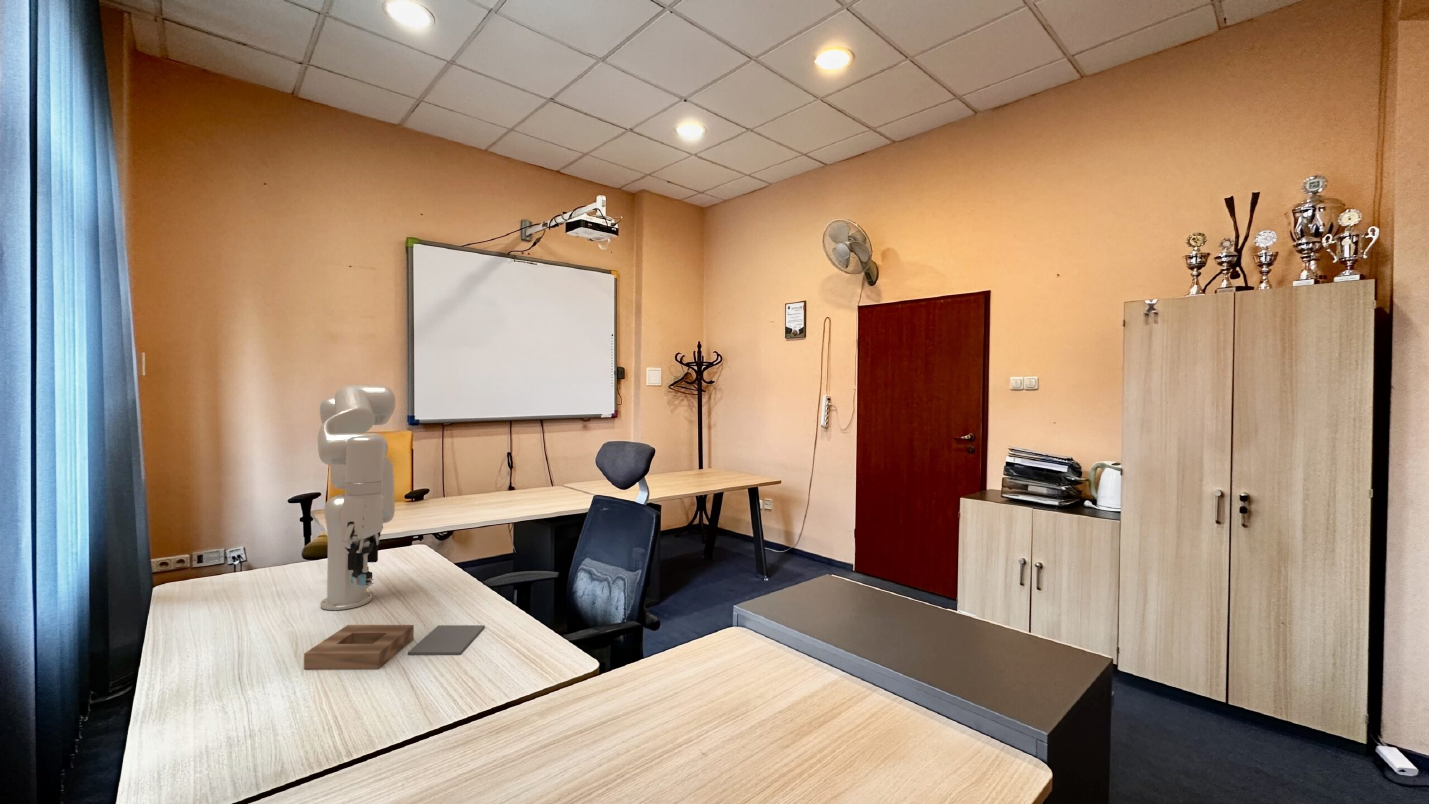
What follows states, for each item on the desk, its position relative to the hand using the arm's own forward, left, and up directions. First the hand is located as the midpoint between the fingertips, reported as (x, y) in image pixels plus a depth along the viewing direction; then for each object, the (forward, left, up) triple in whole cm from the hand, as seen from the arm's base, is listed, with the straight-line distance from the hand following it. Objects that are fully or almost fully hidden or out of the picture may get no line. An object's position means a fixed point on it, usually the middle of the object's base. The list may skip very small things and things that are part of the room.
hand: (363, 565), depth 134 cm
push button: (0, 0, -5) cm, 5 cm away
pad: (-7, +17, -21) cm, 28 cm away
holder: (0, 0, -21) cm, 21 cm away
